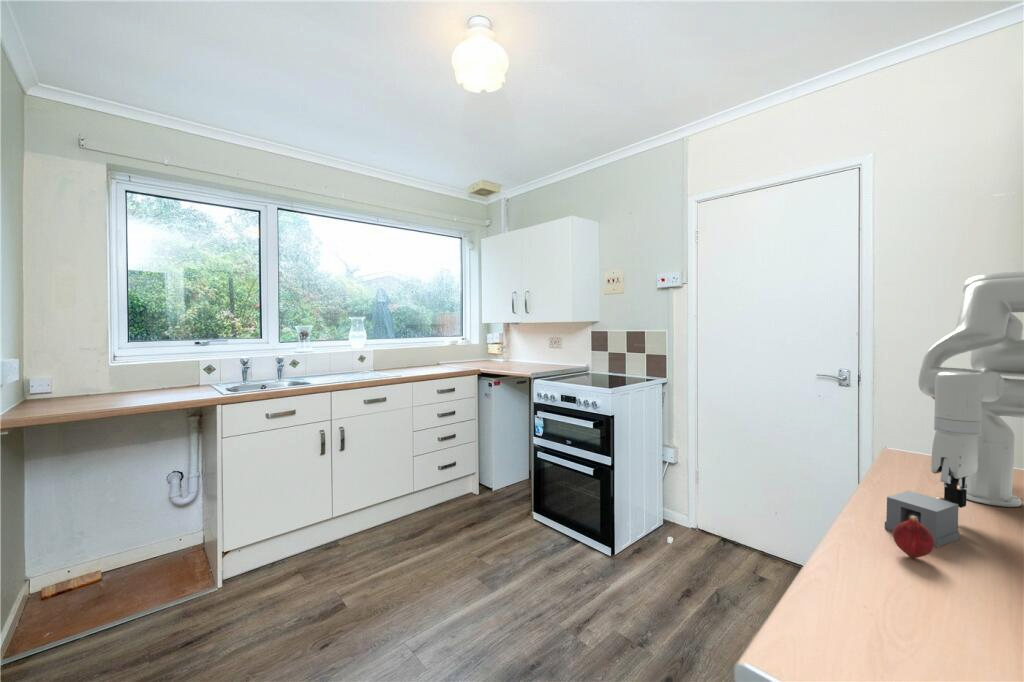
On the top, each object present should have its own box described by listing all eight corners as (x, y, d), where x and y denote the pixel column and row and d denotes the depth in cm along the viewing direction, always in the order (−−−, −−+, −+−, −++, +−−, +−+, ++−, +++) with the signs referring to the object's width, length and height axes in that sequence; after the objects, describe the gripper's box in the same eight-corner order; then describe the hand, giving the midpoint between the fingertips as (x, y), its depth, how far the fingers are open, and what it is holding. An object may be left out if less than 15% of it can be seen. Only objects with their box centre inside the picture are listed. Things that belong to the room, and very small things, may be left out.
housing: (906, 521, 99) (907, 490, 99) (959, 538, 91) (960, 504, 91) (884, 528, 96) (885, 496, 95) (937, 547, 87) (938, 512, 87)
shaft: (928, 515, 99) (928, 493, 99) (957, 524, 95) (958, 501, 95) (898, 525, 94) (898, 503, 94) (927, 535, 90) (928, 512, 90)
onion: (941, 567, 80) (943, 525, 80) (905, 564, 81) (906, 522, 81) (919, 551, 86) (920, 511, 86) (885, 548, 87) (886, 509, 87)
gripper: (951, 419, 105) (949, 493, 106) (918, 426, 99) (917, 504, 100) (995, 425, 98) (993, 505, 99) (963, 433, 92) (961, 517, 93)
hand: (954, 504), depth 99 cm, fingers closed
